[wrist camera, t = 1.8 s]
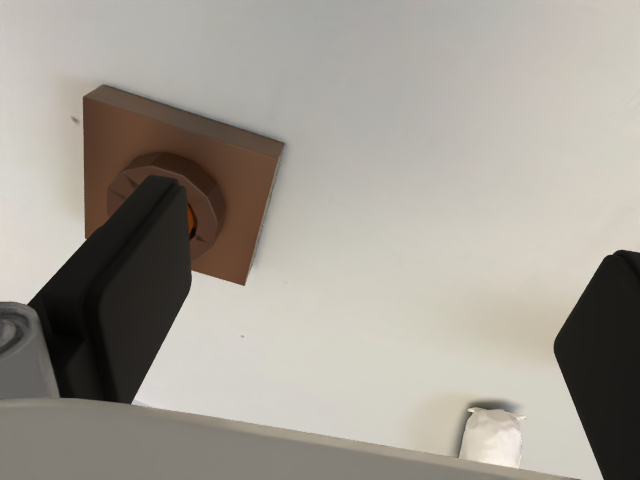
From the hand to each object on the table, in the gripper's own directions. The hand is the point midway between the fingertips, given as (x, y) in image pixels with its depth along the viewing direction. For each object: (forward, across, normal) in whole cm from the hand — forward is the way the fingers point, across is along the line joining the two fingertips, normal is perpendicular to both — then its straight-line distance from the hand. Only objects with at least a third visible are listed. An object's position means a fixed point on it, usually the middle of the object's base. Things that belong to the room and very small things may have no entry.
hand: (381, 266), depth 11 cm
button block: (+17, +11, +9) cm, 22 cm away
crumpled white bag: (+17, -15, +30) cm, 37 cm away
